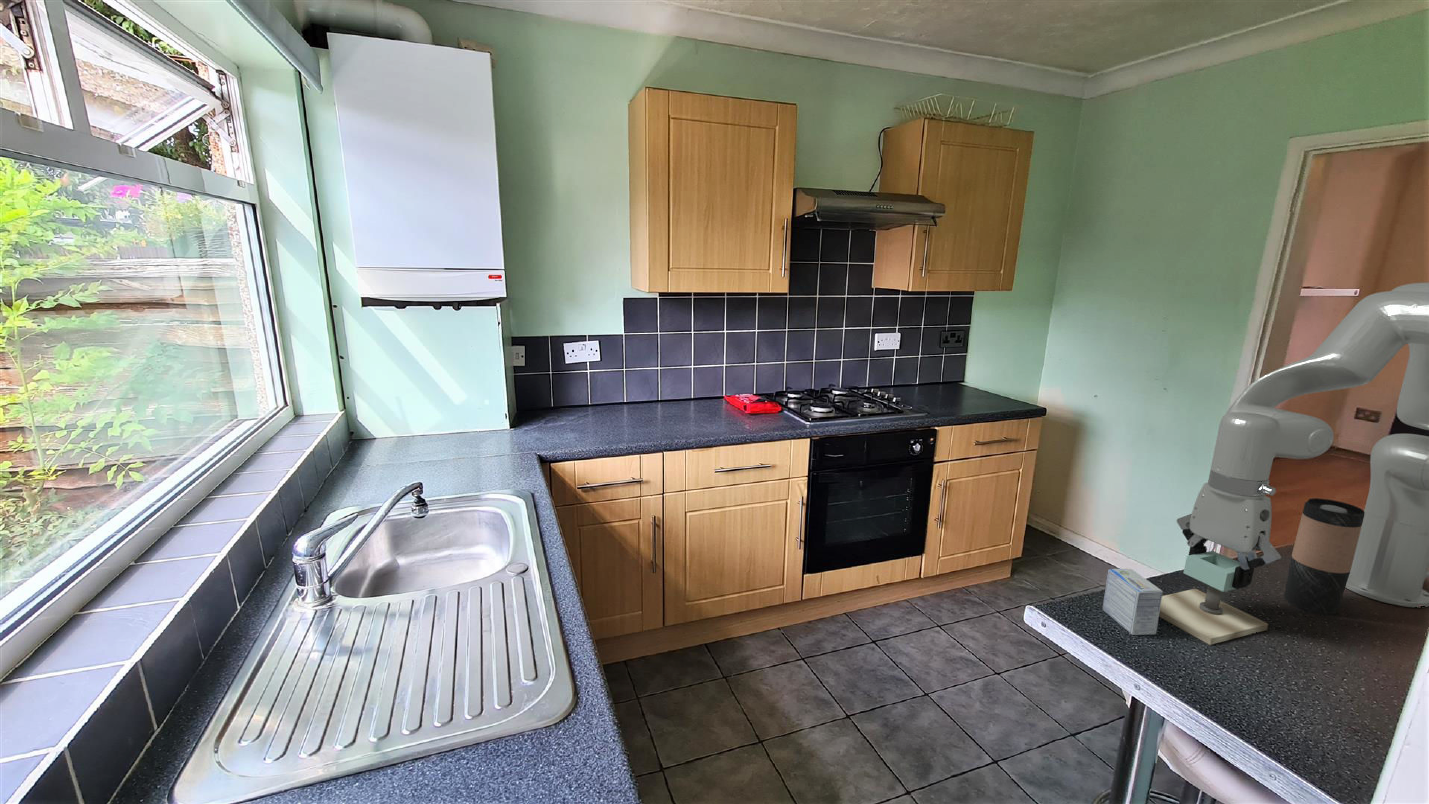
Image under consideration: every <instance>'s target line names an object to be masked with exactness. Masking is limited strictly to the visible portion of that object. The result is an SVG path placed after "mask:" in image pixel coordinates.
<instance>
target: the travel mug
mask: <svg viewBox="0 0 1429 804" xmlns="http://www.w3.org/2000/svg"><path fill="white" fill-rule="evenodd" d="M1364 515H1365V512H1364V510H1363V509H1362V508H1360V507H1358V506H1356V505H1353V504H1350V503H1346V502H1343V501H1339V500H1334V499H1327V498H1317V497H1315V498H1314V497H1313V498H1309V499H1308V500H1307V501H1305V502H1304V505H1303V509H1302V513H1301V517H1300V521H1299V526H1298V529H1297V532H1296V533H1297V534H1296V538H1295V541H1294V544H1293V549H1292V553H1291V557H1290V561H1289V567H1288V573H1287V578H1286V582H1285V590H1284V595H1283V598H1284V599H1285V602H1287V603H1288V604H1291V605H1292V606H1294V607H1296V608H1299V609H1301V610H1304V611H1306V612H1310V613H1313V614H1317V613H1318V615H1325V616H1332V615H1336V614H1337V612H1338V611H1339V607H1340V605H1341V602H1342V599H1343V595H1344V592H1345V589H1346V584H1347V580H1348V577H1349V574H1350V571H1351V567H1352V563H1353V559H1354V555H1355V551H1356V547H1357V543H1358V539H1359V535H1360V531H1361V527H1362V523H1363V519H1364Z"/></svg>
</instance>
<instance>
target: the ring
mask: <svg viewBox="0 0 1429 804" xmlns="http://www.w3.org/2000/svg"><path fill="white" fill-rule="evenodd" d="M1188 555H1189V554H1188ZM1188 555H1186V558H1185V563H1184V567H1183V568H1184V569H1183V574H1185V575H1186V576H1189V577H1191V578H1193V579H1195V580H1197V581H1200V582H1202V583H1204V584H1206V585H1207V586H1208V585H1210V586H1212V587H1214V588H1216V589H1218V590H1220V591H1222V593H1223V592H1229V591H1233V590H1236V589H1235V588H1233V587H1232V583H1233V579H1234V574H1235V568H1236V567H1238V566H1240V563H1239V560H1235V559H1234V558H1233V559H1232V558H1230V557H1228V556H1226V555H1223V554H1221V553H1219V552H1216V551H1214V550H1211V551H1210V550H1209V551H1207V552H1205V553H1200V554H1194V555H1189V556H1188ZM1250 586H1251V584H1250V585H1249V586H1248V587H1250Z"/></svg>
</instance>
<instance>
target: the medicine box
mask: <svg viewBox="0 0 1429 804" xmlns="http://www.w3.org/2000/svg"><path fill="white" fill-rule="evenodd" d="M1105 583H1106V584H1105V588H1104V589H1105V591H1104V597H1103V603H1102V611H1104V612H1105V613H1106V614H1107V615H1108V616H1110V618H1112V619H1113V620H1114V621H1115V622H1117V623H1118V624H1119V625H1120V626H1121V627H1123V628H1124V629H1125V630H1126V631H1127V632H1128V633H1129V634H1130V635H1131V636H1148V635H1156V634H1157V630H1158V624H1159V612H1160V606H1161V600H1162V596H1163V590H1162V589H1160V588H1159V587H1157V585H1155V584H1154V583H1152V582H1151V581H1149V580H1148V579H1146V578H1145V577H1143V576H1142V575H1141V574H1140V573H1138V572H1137V571H1135V570H1134V569H1132V568H1109V569H1108V571H1107V577H1106V582H1105Z"/></svg>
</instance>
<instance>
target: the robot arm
mask: <svg viewBox="0 0 1429 804" xmlns="http://www.w3.org/2000/svg"><path fill="white" fill-rule="evenodd" d="M1405 345H1408V349H1409V356H1408V360H1407V365H1406V370H1405V373H1404V376H1403V380H1402V386H1401V388H1400V392H1399V395H1398V400H1397V405H1396V417H1397V418H1398V419H1399V420H1400V422H1402V423H1403V424H1404V425H1407V426H1410V427H1413V428H1414V427H1415V428H1418V429H1421V430H1427V431H1429V282H1415V283H1408V284H1407V283H1406V284H1403V285H1399V286H1396V287H1395V288H1393V289H1391V290H1389V291H1380V292H1375V293H1372V294H1369V295H1367V296H1365V297H1364V298H1362V299H1361V300H1360V301H1358V303H1356V304H1355V306H1353V308H1352V309H1351V310H1350V311H1349V313H1348V314H1346V315H1345V317H1344V318H1343V319H1342V320H1341V322H1339V324H1337V326H1336V327H1335V328H1334V329H1333V331H1332V332H1330V334H1329V335H1328V336H1327V337H1326V338H1325V340H1323V342H1322V343H1321V344H1320V345H1319V346H1318V347H1317V348H1316V350H1315V351H1314V352H1313V353H1312V354H1310V355H1309V356H1308V357H1305V358H1303V359H1300V360H1298V361H1294V362H1291V363H1289V364H1287V365H1284V366H1281V367H1280V368H1277V369H1276V370H1273V371H1271V372H1269V373H1267V374H1265V375H1262V376H1260V377H1259V378H1257V379H1256V380H1254V381H1253V382H1252V383H1250V384H1249V385H1248V386H1247V387H1246V388H1245V389H1244V390H1243V391H1242V393H1241V394H1239V396H1238V397H1237V398H1236V399H1235V400H1234V402H1233V403H1232V404H1231V405H1230V406H1229V408H1228V409H1227V411H1226V413H1225V414H1223V416H1221V419H1220V422H1219V425H1218V431H1217V436H1216V441H1215V446H1214V450H1213V456H1212V461H1211V465H1210V470H1209V471H1210V472H1209V475H1208V481H1207V482H1205V483H1204V484H1203V485H1202V486H1201V489H1200V490H1199V492H1198V494H1197V497H1196V499H1195V502H1194V505H1193V507H1192V512H1191V513H1190V514H1187V515H1184V516H1181V517H1179V518H1177V519H1176V523H1177V525H1178V526H1179V528H1180V529H1181V530H1182V534H1183V536H1184V537H1185V539H1186V541H1187V542H1186V543H1187V546H1189V550H1188V555H1187V556H1189V555H1194V554H1200V553H1205V552H1208V551H1207V550H1208V548H1207V546H1206V545H1205V544H1206V543H1207V542H1208V541H1210V542H1212V543H1215V544H1217V545H1220V546H1222V547H1225V548H1227V549H1230V550H1232V551H1235V553H1236V556H1237V561H1238V562H1239V563H1240V566H1238V567H1236V568H1235V574H1234V579H1233V583H1232V587H1233V588H1235V589H1234V590H1238V589H1243V588H1248V587H1250V586H1251V584H1252V581H1253V580H1252V579H1253V576H1254V575H1253V574H1254V572H1255V569H1257V568H1259V567H1262V566H1266V565H1268V564H1271V563H1274V562H1276V561H1280V560H1281V559H1282V556H1281V554H1280V553H1279V552H1278V551H1277V550H1276V548H1275V547H1274V545H1273V544H1272V543H1271V542H1270V538H1271V530H1272V518H1273V517H1272V516H1273V513H1272V512H1273V510H1272V500H1271V498H1270V497H1269V496H1274V495H1275V494H1276V492H1277V490H1276V488H1275V487H1272V486H1271V485H1269V484H1270V480H1269V478H1270V474H1271V470H1272V466H1273V461H1274V458H1285V459H1294V460H1295V459H1296V460H1304V459H1305V460H1307V459H1312V458H1315V457H1319V456H1321V455H1322V454H1324V453H1325V452H1327V451H1328V450H1329V449H1330V448H1331V446H1332V444H1333V443H1334V442H1333V441H1334V439H1335V437H1334V431H1333V429H1332V427H1331V426H1330V425H1329V424H1328V423H1327V422H1326V421H1324V420H1322V419H1321V418H1319V417H1315V416H1312V415H1309V414H1308V415H1307V414H1303V413H1298V412H1294V411H1289V410H1285V409H1281V408H1276V407H1277V406H1279V405H1280V404H1282V403H1283V402H1286V401H1289V400H1291V399H1294V398H1297V397H1300V396H1304V395H1309V394H1314V393H1322V392H1330V391H1337V390H1338V391H1339V390H1343V389H1345V390H1346V389H1350V388H1351V389H1352V388H1356V387H1357V388H1358V387H1360V386H1364V385H1367V384H1369V383H1370V382H1372V381H1374V380H1375V378H1376V377H1377V376H1378V375H1379V374H1380V372H1382V371H1383V369H1384V368H1385V367H1386V366H1387V365H1388V364H1389V363H1390V362H1391V361H1392V360H1393V358H1394V357H1395V356H1396V355H1397V354H1398V353H1399V351H1401V349H1402V348H1403V347H1404V346H1405ZM1369 463H1370V464H1369V466H1370V484H1369V490H1368V495H1367V498H1366V501H1365V503H1366V504H1365V506H1364V510H1363V511H1364V512H1365V515H1364V519H1363V523H1362V527H1361V531H1360V535H1359V539H1358V543H1357V547H1356V551H1355V555H1354V559H1353V563H1352V567H1351V571H1350V574H1349V577H1348V580H1347V584H1346V587H1345V589H1348V590H1350V591H1351V592H1353V593H1356V594H1359V595H1361V596H1364V597H1365V598H1369V599H1372V600H1375V601H1378V602H1382V603H1386V604H1390V605H1394V606H1395V605H1396V606H1399V607H1406V608H1415V607H1417V606H1419V605H1424V606H1425V607H1424V608H1427V607H1429V592H1428V591H1426V590H1425V589H1423V586H1424V583H1425V580H1426V579H1428V578H1429V436H1426V435H1421V434H1414V433H1393V434H1389V435H1386V436H1383V437H1382V438H1381V439H1379V440H1378V441H1376V443H1375V444H1374V445H1373V448H1372V449H1371V452H1370V462H1369ZM1267 495H1269V496H1267ZM1256 551H1261V552H1262V553H1263V555H1262V556H1260V557H1258V555H1257V552H1256ZM1249 585H1250V586H1249ZM1417 608H1418V607H1417Z"/></svg>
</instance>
